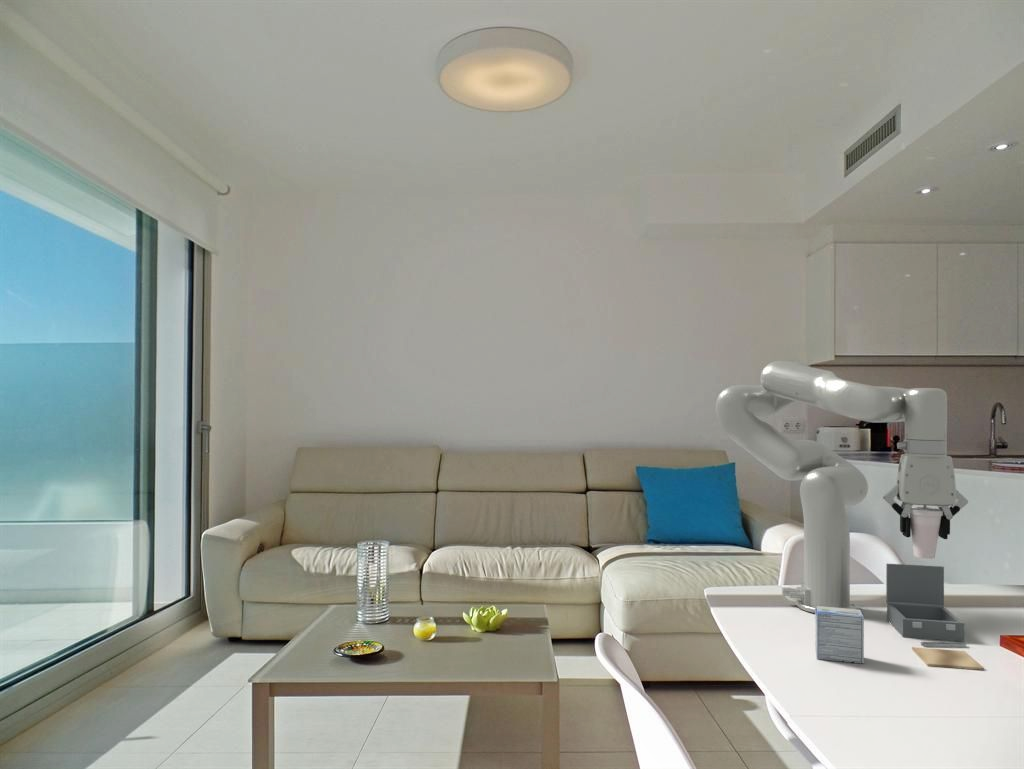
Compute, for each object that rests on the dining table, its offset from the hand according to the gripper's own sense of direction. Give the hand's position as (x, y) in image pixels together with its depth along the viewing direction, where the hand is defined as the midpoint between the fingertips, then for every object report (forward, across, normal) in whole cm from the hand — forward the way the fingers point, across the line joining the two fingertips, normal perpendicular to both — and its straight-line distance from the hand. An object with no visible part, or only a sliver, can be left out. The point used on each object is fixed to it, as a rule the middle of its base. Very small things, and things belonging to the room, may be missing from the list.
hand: (924, 536), depth 154 cm
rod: (+20, +1, -9) cm, 22 cm away
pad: (+19, -1, -17) cm, 26 cm away
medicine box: (+20, -20, -21) cm, 35 cm away
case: (+19, 0, +1) cm, 19 cm away
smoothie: (+4, 0, 0) cm, 4 cm away
